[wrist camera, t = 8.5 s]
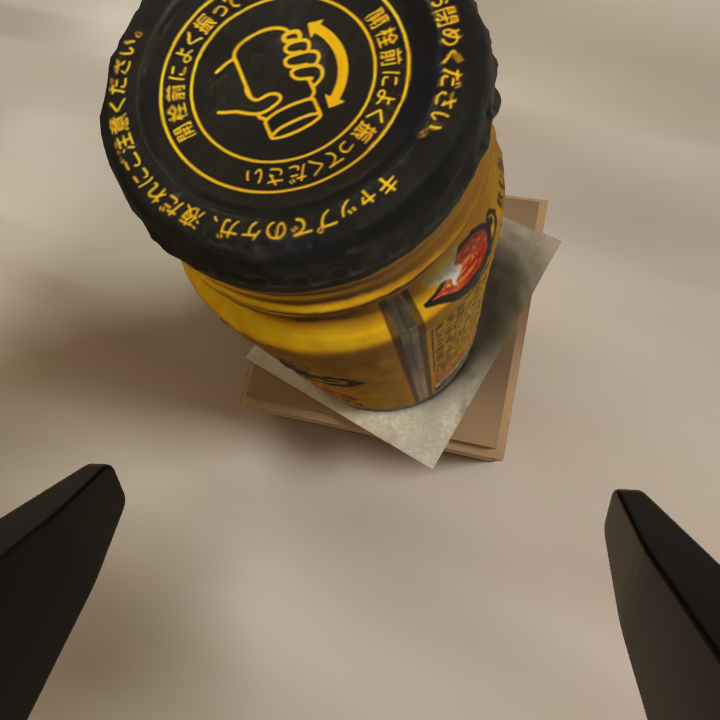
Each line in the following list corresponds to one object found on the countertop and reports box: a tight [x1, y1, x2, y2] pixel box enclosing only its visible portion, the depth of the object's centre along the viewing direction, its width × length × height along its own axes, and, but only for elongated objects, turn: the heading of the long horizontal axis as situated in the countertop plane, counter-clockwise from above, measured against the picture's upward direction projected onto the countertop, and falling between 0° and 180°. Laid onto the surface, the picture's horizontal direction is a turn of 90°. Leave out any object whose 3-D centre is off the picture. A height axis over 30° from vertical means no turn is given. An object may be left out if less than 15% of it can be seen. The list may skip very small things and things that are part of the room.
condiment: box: [100, 0, 561, 469], centre depth 13 cm, size 7×8×12 cm
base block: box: [240, 195, 548, 462], centre depth 20 cm, size 9×9×4 cm
